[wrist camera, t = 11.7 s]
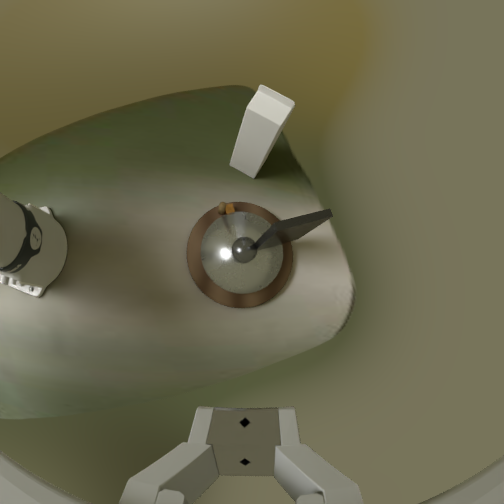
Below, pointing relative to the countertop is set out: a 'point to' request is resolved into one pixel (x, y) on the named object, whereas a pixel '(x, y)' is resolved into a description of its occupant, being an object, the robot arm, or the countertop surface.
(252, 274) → the grey finned round piece
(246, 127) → the milk
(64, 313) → the countertop surface
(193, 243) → the post base
